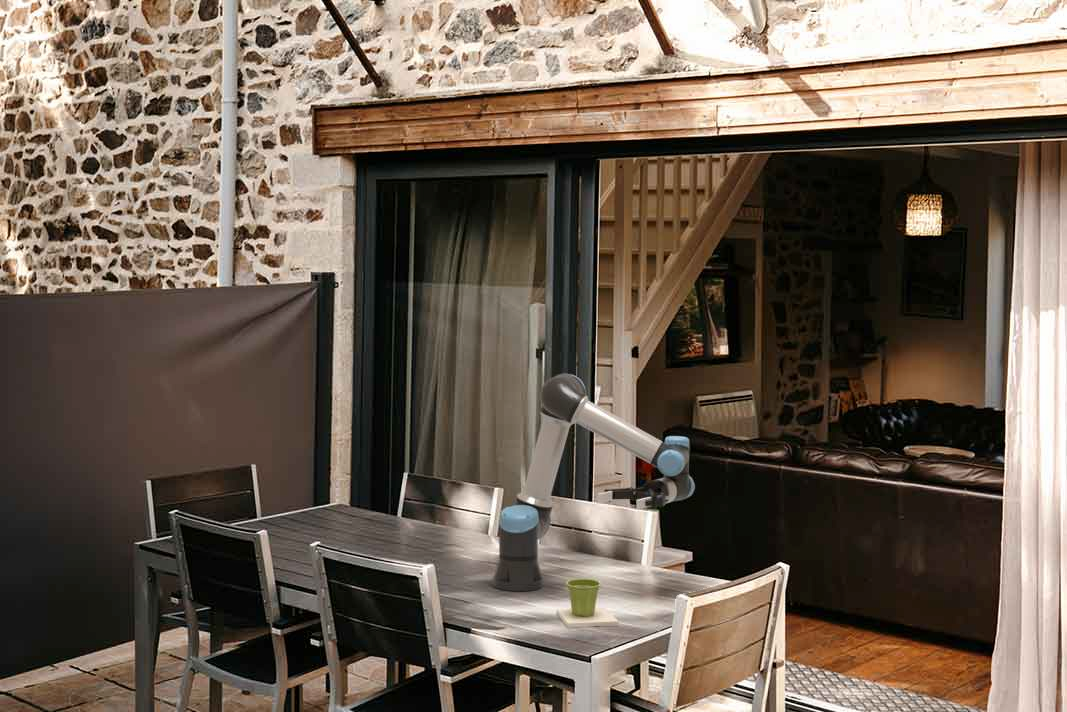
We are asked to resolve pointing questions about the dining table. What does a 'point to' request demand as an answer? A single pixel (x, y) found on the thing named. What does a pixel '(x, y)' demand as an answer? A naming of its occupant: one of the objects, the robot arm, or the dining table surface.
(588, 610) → the plant pot
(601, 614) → the tile
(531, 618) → the dining table surface
